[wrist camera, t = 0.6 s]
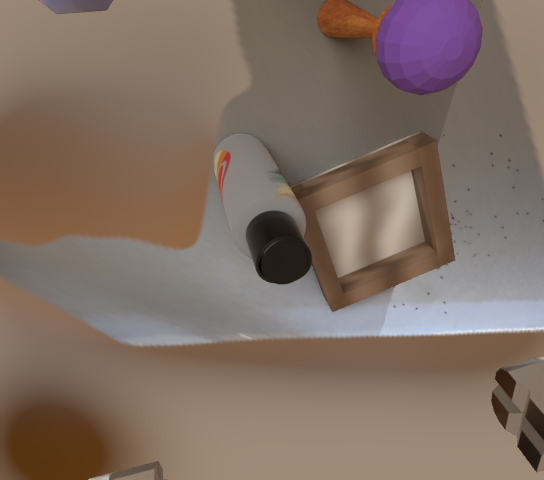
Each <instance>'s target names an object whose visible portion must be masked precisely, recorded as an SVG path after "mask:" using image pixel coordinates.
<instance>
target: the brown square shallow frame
mask: <svg viewBox="0 0 544 480" xmlns="http://www.w3.org/2000/svg"><path fill="white" fill-rule="evenodd" d="M289 187H290V188H291V190H292V192H293V193H294V195H295V197H296V199H297V200H298V202H299V204H300V205H301V207H302V209H303V211H304V214H305V218H306V230H305V234H304V239H305V241H306V243H307V244H308V246H309V248H310V251H311V254H312V266H313V269H314V271H315V274H316V277H317V279H318V282H319V284H320V287H321V290H322V292H323V295H324V297H325V299H326V301H327V303H328V305H329V307H330V309H331V311H332V312H334V311H336V310H339V309H341V308H343V307H346V306H348V305H351V304H353V303H355V302H358V301H360V300H362V299H365V298H367V297H369V296H372V295H374V294H377V293H379V292H381V291H384V290H386V289H388V288H391V287H393V286H395V285H398V284H400V283H402V282H405V281H407V280H410V279H412V278H414V277H417V276H419V275H421V274H424V273H426V272H428V271H431V270H433V269H436V268H438V267H440V266H443V265H445V264H447V263H450V262H452V261H454V260H455V255H454V249H453V243H452V236H451V230H450V223H449V217H448V211H447V204H446V198H445V191H444V185H443V178H442V172H441V166H440V159H439V153H438V146H437V141H436V140H434V139H433V138H431V137H429V136H428V135H426V134H424V133H423V132H421V131H419V132H416V133H414V134H412V135H409V136H407V137H404V138H402V139H400V140H397V141H395V142H393V143H390V144H388V145H386V146H383V147H381V148H379V149H376V150H374V151H371V152H369V153H367V154H364V155H362V156H360V157H357V158H355V159H353V160H350V161H348V162H346V163H343V164H341V165H339V166H336V167H334V168H331V169H329V170H327V171H324V172H322V173H320V174H317V175H315V176H313V177H310V178H308V179H306V180H303V181H301V182H298V183H296V184H294V185H291V186H289Z"/></svg>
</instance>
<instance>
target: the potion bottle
mask: <svg viewBox="0 0 544 480" xmlns="http://www.w3.org/2000/svg"><path fill="white" fill-rule="evenodd" d="M39 1H41V2H42V3H43V4H44V5H46V6H47V7H48V8H50V9H51V10H52V11H54V12H55V13H56V14H65V13H78V12H91V11H105V10H107V9H108V7H109V6H110V4H111V3H112V1H113V0H39Z"/></svg>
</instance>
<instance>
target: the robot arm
mask: <svg viewBox="0 0 544 480" xmlns="http://www.w3.org/2000/svg"><path fill="white" fill-rule="evenodd" d="M495 380H496V381H497V382H498V384H499V385H498V386H497V387H496V388H495V389H494V390H493V391H492V399H491V402H492V405H493V409H494V412H495V414H496V416H497V418H498V420H499V422H500V423H501V425H502V426H503V427H504V429H505V430H507V431H508V432H510V433H512V434H514V435H516V436H517V444H518V445H517V447H518V448H519V449H520V451H521V452H522V453H523V455H524V456H525V457H526V459H527V460H528V461H529V463H530V464H531V466H532V467H533V468H534V470H535V471H536V472H540V471H543V470H544V357H541V358H537V359H536V358H535V359H531V360H528V361H524V362H521V363H518V364H514V365H510V366H507V367H503V368H500V369H499V370H498V371H497V372H496V376H495ZM88 480H166V479H163V469H162V467H161V465H160V463H159V462H158V461H156V462H153V463H149V464H145V465H141V466H137V467H133V468H129V469H126V470H122V471H118V472H114V473H109V474H106V475H102V476H98V477H94V478H91V479H88Z"/></svg>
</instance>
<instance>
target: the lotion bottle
mask: <svg viewBox="0 0 544 480" xmlns="http://www.w3.org/2000/svg"><path fill="white" fill-rule="evenodd" d="M213 165H214V171H215V175H216V178H217V182H218V186H219V190H220V193H221V197H222V201H223V204H224V208H225V212H226V215H227V219H228V223H229V226H230V230H231V233H232V237H233V239H234V242H235V244H236V246H237V247H238V248H239V250H240V251H241V252H242V253H244V254H245V255H246V256H248V257H250V258H252V259H253V262H254V265H255V268H256V271H257V273H258V275H259V276H260V277H261V278H262V279H263V280H265V281H267V282H271V283H276V284H289V283H291V282H294V281H296V280H298V279H300V278H301V277H303V276H304V275H305V274H306V273H307V272H308V271H309V269H310V267H311V264H312V254H311V251H310V248H309V246H308V244H307V243H306V241H305V239H304V234H305V230H306V218H305V214H304V211H303V209H302V207H301V205H300V204H299V202H298V200H297V199H296V197H295V195H294V193H293V192H292V190H291V188H290V187H289V185H288V184H287V182H286V180H285V179H284V177H283V175H282V174H281V172H280V170H279V169H278V167H277V165H276V164H275V162H274V160H273V159H272V157H271V155H270V154H269V152H268V150H267V149H266V147H265V146H264V145H263V143H262V142H261V141H260V140H259V139H257V138H256V137H254V136H252V135H249V134H234V135H231V136H229V137H227V138H225V139H224V140H223V141H222V142H221V143H220V144H219V145H218V147H217V148H216V151H215V153H214V158H213Z"/></svg>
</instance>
